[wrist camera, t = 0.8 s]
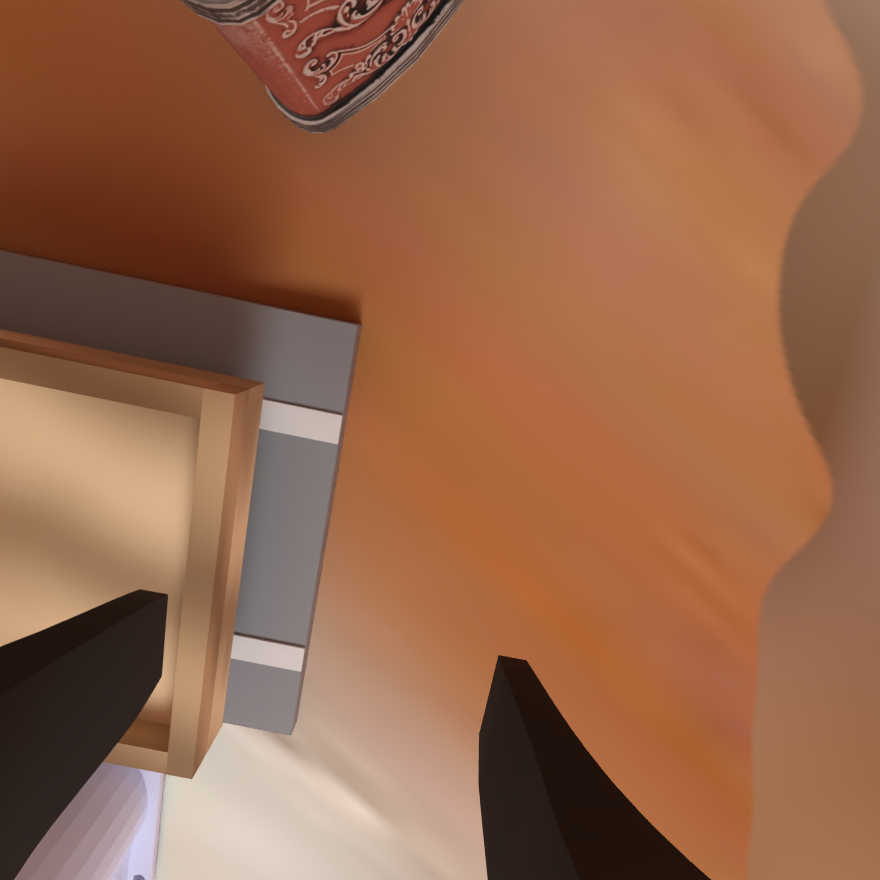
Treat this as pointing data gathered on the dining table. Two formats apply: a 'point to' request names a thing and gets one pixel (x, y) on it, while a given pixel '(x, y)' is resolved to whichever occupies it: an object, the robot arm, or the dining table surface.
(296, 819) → the dining table surface
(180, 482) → the tray
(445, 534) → the dining table surface
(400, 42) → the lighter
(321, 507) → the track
